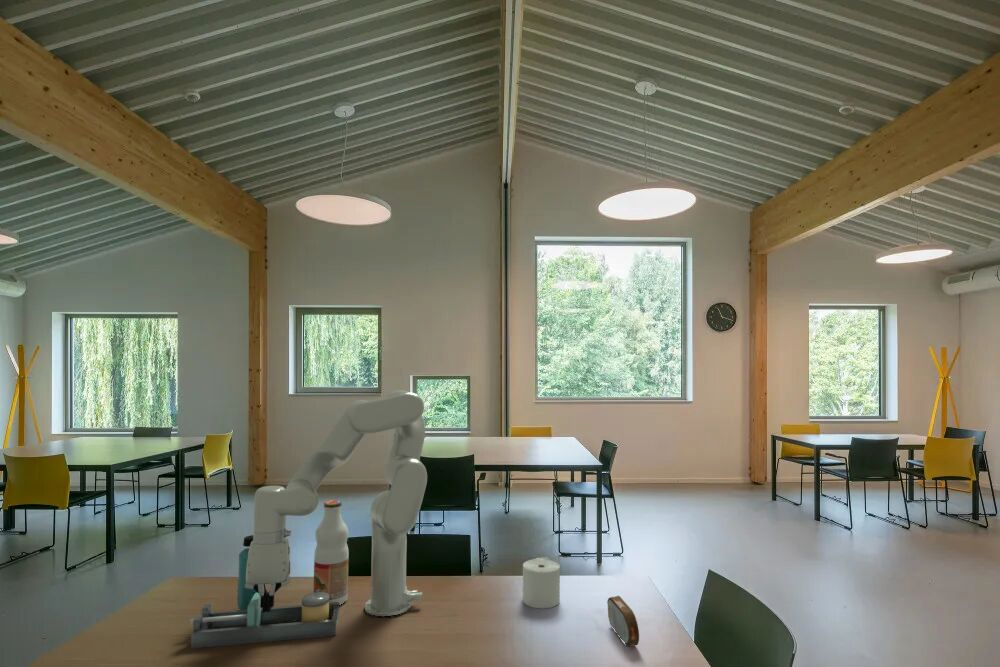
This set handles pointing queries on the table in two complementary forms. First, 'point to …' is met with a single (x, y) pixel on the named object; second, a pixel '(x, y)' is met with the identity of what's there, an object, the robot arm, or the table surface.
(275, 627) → the lane
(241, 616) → the pusher
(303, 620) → the jar
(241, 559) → the beverage bottle
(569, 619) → the table surface
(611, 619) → the tin
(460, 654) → the table surface
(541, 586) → the toilet tissue
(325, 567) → the fruit juice
